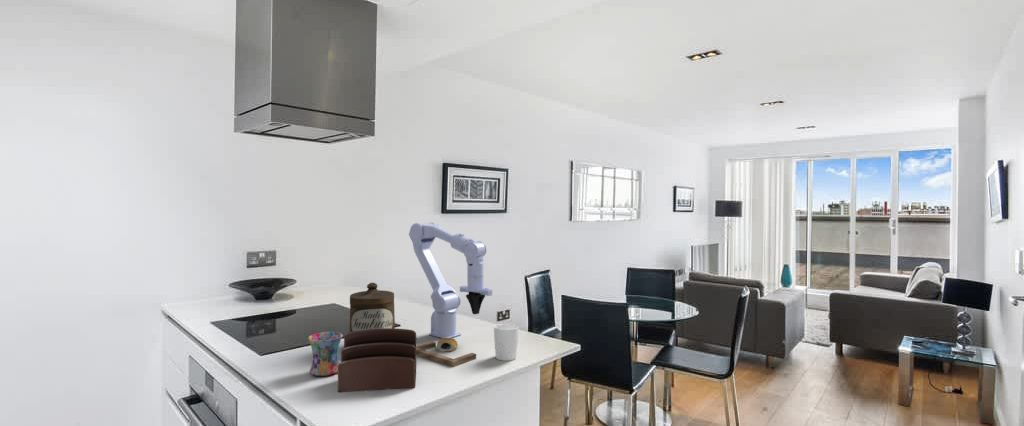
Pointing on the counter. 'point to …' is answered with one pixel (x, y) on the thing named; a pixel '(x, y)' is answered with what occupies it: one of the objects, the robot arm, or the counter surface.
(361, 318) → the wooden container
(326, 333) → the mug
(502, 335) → the white cup
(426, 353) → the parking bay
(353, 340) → the letter holder
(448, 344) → the pastry
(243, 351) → the counter surface
